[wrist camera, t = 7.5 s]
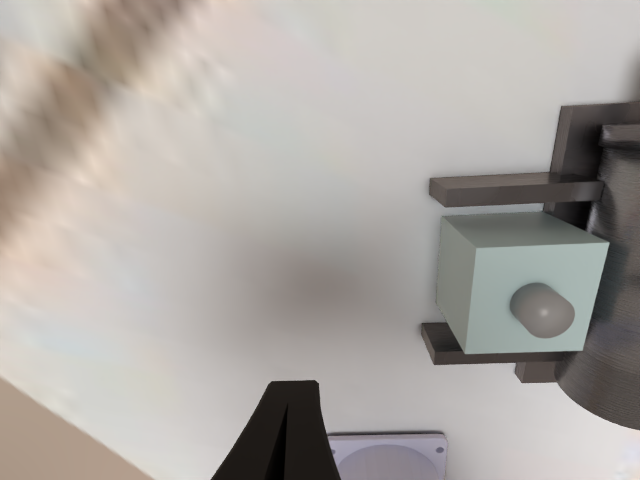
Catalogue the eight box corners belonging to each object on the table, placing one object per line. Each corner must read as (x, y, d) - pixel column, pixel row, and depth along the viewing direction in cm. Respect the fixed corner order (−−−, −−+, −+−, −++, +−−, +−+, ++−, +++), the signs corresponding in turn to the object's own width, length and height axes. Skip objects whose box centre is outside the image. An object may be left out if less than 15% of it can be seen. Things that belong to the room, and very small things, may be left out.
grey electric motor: (625, 370, 20) (727, 459, 15) (419, 376, 21) (449, 464, 16) (726, 46, 15) (949, 9, 9) (436, 65, 15) (493, 40, 10)
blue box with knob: (526, 298, 19) (603, 369, 14) (435, 301, 19) (475, 373, 14) (541, 210, 17) (636, 254, 12) (441, 215, 18) (490, 260, 12)
